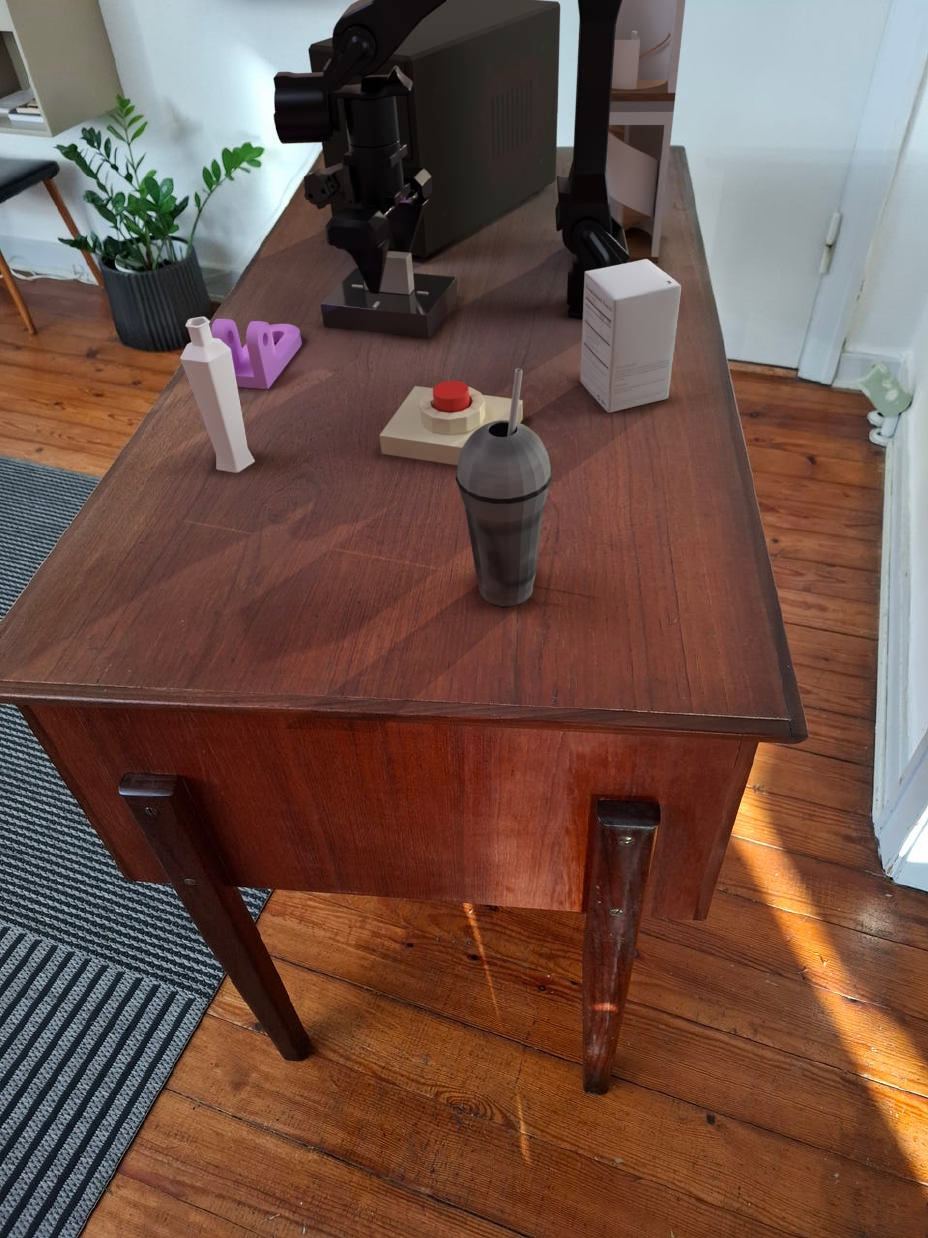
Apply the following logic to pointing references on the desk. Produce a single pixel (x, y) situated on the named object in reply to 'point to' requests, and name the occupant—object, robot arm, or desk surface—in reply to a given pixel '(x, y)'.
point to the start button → (451, 396)
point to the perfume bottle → (216, 395)
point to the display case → (642, 119)
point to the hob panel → (391, 306)
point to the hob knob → (397, 274)
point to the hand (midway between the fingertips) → (389, 277)
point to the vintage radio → (471, 110)
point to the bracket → (258, 350)
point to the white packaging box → (628, 334)
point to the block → (440, 425)
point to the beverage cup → (504, 503)
